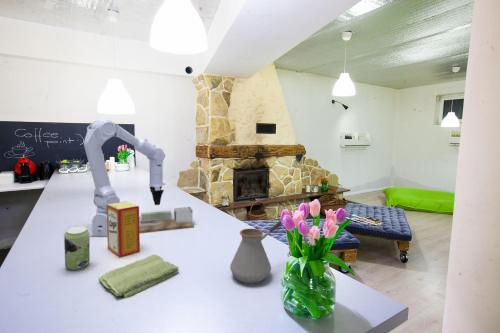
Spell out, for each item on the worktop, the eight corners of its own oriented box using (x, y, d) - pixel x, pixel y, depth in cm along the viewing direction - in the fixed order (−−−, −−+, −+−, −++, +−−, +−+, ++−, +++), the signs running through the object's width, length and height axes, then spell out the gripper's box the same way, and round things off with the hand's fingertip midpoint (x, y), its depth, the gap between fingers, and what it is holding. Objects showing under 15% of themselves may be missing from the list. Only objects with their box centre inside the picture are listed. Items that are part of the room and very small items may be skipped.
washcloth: (95, 283, 70) (95, 272, 70) (156, 261, 84) (156, 251, 83) (118, 304, 62) (118, 291, 61) (181, 275, 75) (181, 264, 75)
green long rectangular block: (141, 222, 121) (141, 214, 121) (141, 220, 124) (141, 213, 123) (171, 219, 126) (171, 212, 126) (170, 217, 129) (170, 210, 129)
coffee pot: (247, 292, 67) (249, 235, 65) (221, 274, 76) (222, 223, 74) (302, 268, 81) (304, 219, 79) (274, 255, 89) (276, 211, 88)
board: (138, 233, 106) (138, 230, 106) (138, 224, 117) (138, 222, 117) (193, 227, 115) (193, 225, 115) (188, 219, 126) (188, 217, 126)
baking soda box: (107, 249, 91) (106, 203, 89) (127, 244, 96) (126, 200, 94) (119, 257, 84) (118, 208, 83) (139, 251, 89) (138, 205, 88)
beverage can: (85, 259, 82) (83, 222, 81) (94, 267, 78) (93, 227, 77) (61, 267, 78) (59, 227, 76) (70, 275, 73) (68, 233, 72)
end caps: (138, 228, 109) (138, 214, 108) (138, 224, 114) (138, 210, 114) (192, 223, 118) (192, 210, 117) (189, 219, 123) (189, 206, 123)
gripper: (166, 175, 118) (167, 206, 119) (163, 171, 131) (163, 199, 132) (149, 176, 115) (150, 207, 116) (148, 172, 128) (148, 200, 130)
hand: (156, 203), depth 124 cm, fingers open, 7 cm apart
